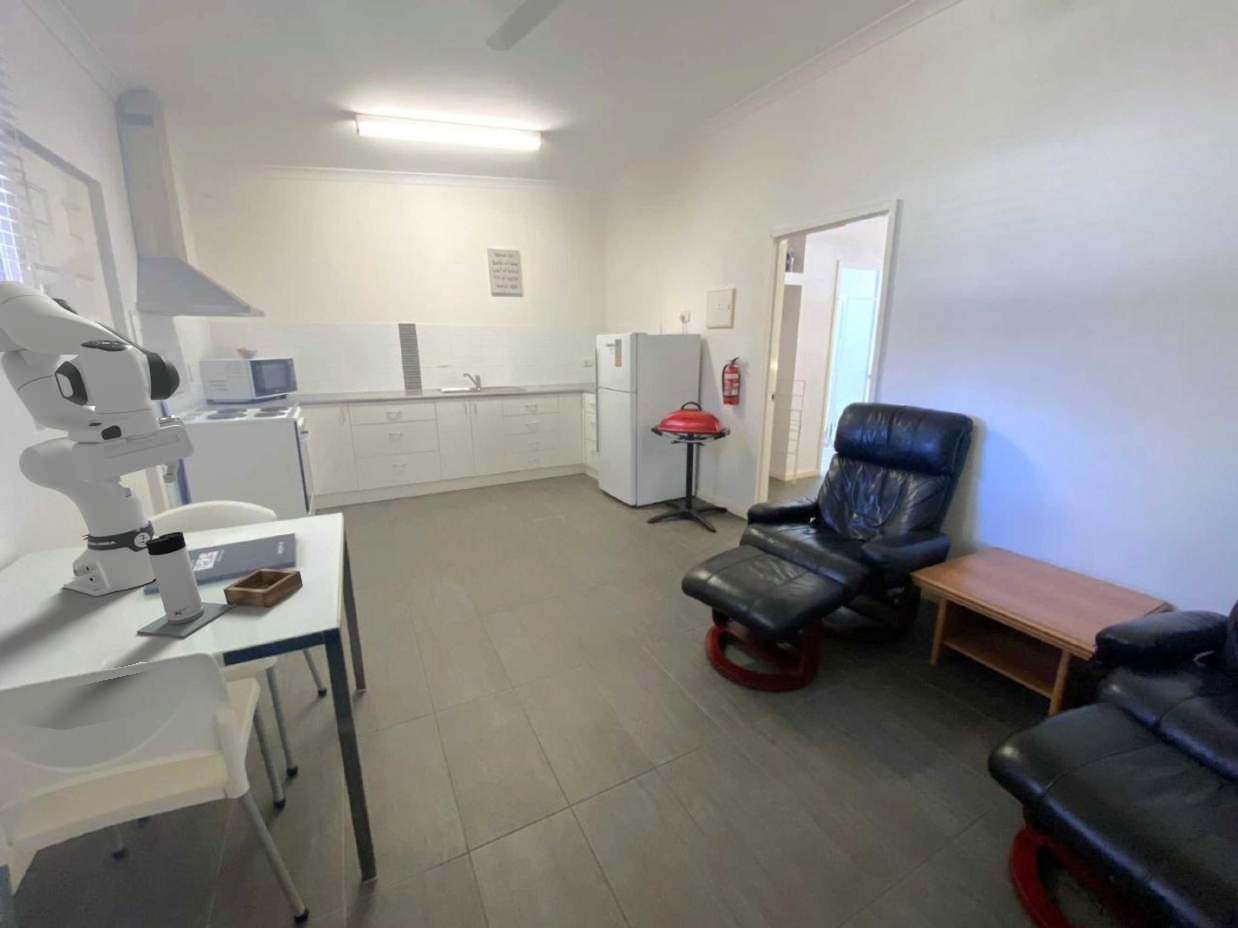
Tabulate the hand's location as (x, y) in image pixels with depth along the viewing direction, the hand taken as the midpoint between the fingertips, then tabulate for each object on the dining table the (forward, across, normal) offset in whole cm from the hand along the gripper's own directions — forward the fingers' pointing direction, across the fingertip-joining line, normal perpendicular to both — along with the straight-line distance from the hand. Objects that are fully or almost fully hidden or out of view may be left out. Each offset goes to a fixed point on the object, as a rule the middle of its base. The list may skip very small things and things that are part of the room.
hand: (149, 489), depth 106 cm
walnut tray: (+31, -12, +9) cm, 34 cm away
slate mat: (+31, 0, 0) cm, 31 cm away
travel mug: (+31, 0, 0) cm, 31 cm away
